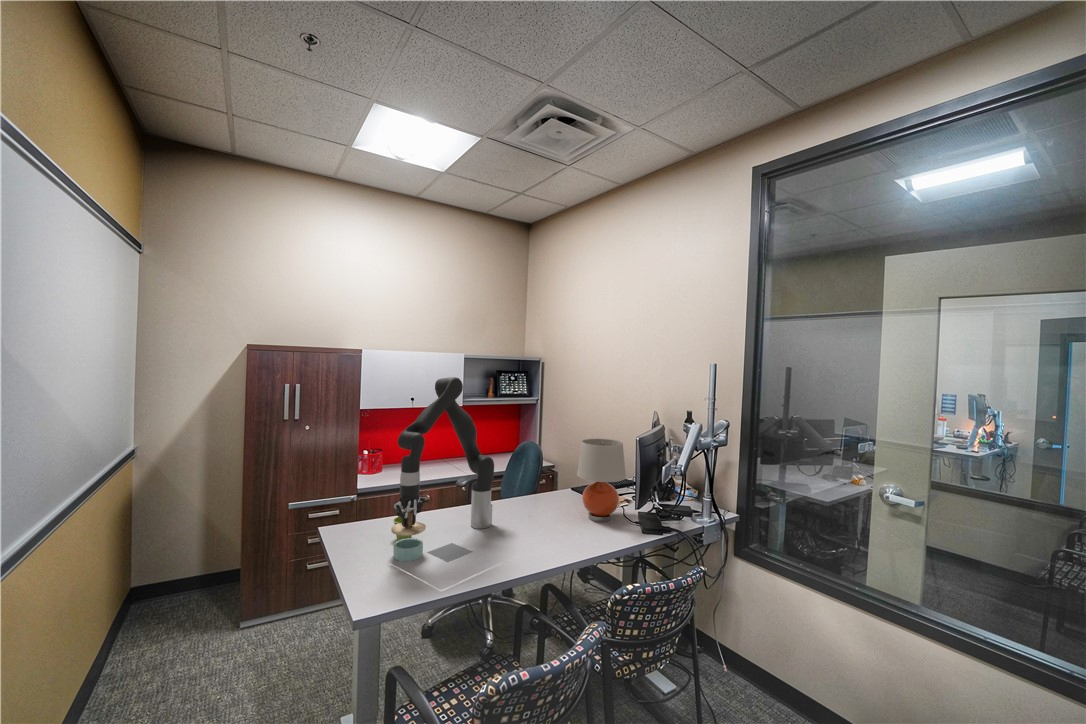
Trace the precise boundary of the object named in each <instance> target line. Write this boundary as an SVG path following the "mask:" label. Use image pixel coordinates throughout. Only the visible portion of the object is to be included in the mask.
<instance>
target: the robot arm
mask: <svg viewBox="0 0 1086 724" xmlns="http://www.w3.org/2000/svg"><path fill="white" fill-rule="evenodd" d="M463 389H464V385H463V382H462V380H461V379H460V378H458V377H454V376H453V377H452V376H451V377H450V376H449V377H441V378H438V379H437V380H436V381H435V383H434V391H435V393H436V396H437V399H435V401H433V402H432V403H430V404H429V405H428V406H426V407H425V408H424V409H423V410H422V411H421V413H420V414H419V415H418V416H417V418H416V419H415V421H414V422H411V424H410V425H408V426H407V427H406V428H404V430H402V431H401V432H400V433H399V436H398V438H397V444H398V447H399V448H400V449H402V450H408V451H410V453H409V454H408V455H407V454H406V455H404V456H403V457H402V458H401V462H400V464H401V466H400V469H401V470H400V472H401V473H400V477H399V480H400V481H399V495H400V497H399V501H397V503H393V504H392V505H393V506H392V507H393V508H394V512H395V513H396V516H397V517H401V518H402V526H403V527H405V528H406V527H407V525H408V518H407V516H408V512H409V511H412V512H413V523H412V525H415V522H417V519H416V518H417V514H420V513H421V511H422V509H423V505H424V503H425V500H426V499H425V498H424V497H422V496H420V495H419V494H420V489H421V488H420V487H421V485H420V484H421V483H420V482H421V473H420V467H421V466H420V465H421V463H420V462H421V458H422V454H423V451H424V449H425V444H426V439H425V437H424V435H426V434H428V433H429V432H430V430H431V429H432V428H433V427H434V425H435V424H436V422H437V421H438V419H439V418H440V417H441V416H442V414H443V413H444V412H446V414H447V417H448V418H449V420H450V423H451V424H452V427H453V430H454V432H455V434H456V436H457V439H458V441H459V443H460V445H461V448H462V449H463V453H464V454H465V458H466V461H467V462H466V463H467V464H468V467H469V469H470V471H471V472H472V473H474V474H475V475H477V480H476V481H474V482H473V483H472V484H471V500H470V501H471V503H470V504H471V506H470V507H471V508H470V526H471V528H474V529H479V530H481V529H487V528H489V527H491V525H492V524H493V504H492V486H493V483H494V477H495V476H494V475H495V474H494V473H495V462H494V460H493V458H492V457H490V456H487V455H484V454H483V453H481V451H480V449H479V447H478V444H477V438H478V437H477V435H478V433H477V432H478V431H477V427H476V425H475V422H474V420H473V418H472V417H471V415H470V414H469V413H468V412H467V411H466V410H464V408H462V407H461V406H460V405H459V404H458V402H457V401H456V400H457V398H459V396H460V395H462V392H463Z"/></svg>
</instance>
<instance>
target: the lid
mask: <svg viewBox="0 0 1086 724" xmlns="http://www.w3.org/2000/svg"><path fill="white" fill-rule="evenodd" d="M407 518H408V525H407V527H406V528H405V527H403V526H402V523H399V524H396V525H395V524H394V525H392V527H391V529H390V530H391V533H392V534H394V535H402V536H409V535H412V536H414V535H419V534H421V533H423V532H424V531H426V527H427V525H425V524H424V522H420V521H416V522H415V525H412V523H413V512H412V511H410V510H409V512H408V516H407Z"/></svg>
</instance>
